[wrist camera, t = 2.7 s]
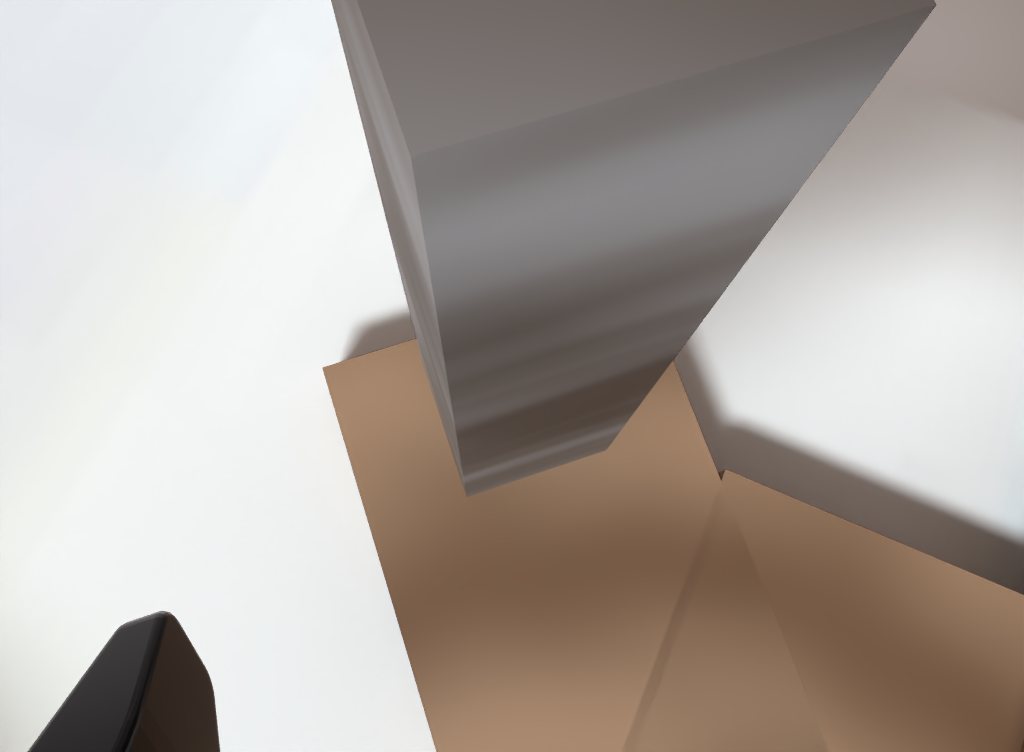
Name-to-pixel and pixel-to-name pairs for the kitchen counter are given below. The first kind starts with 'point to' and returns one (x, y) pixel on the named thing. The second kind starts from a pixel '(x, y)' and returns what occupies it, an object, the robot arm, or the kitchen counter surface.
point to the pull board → (626, 392)
